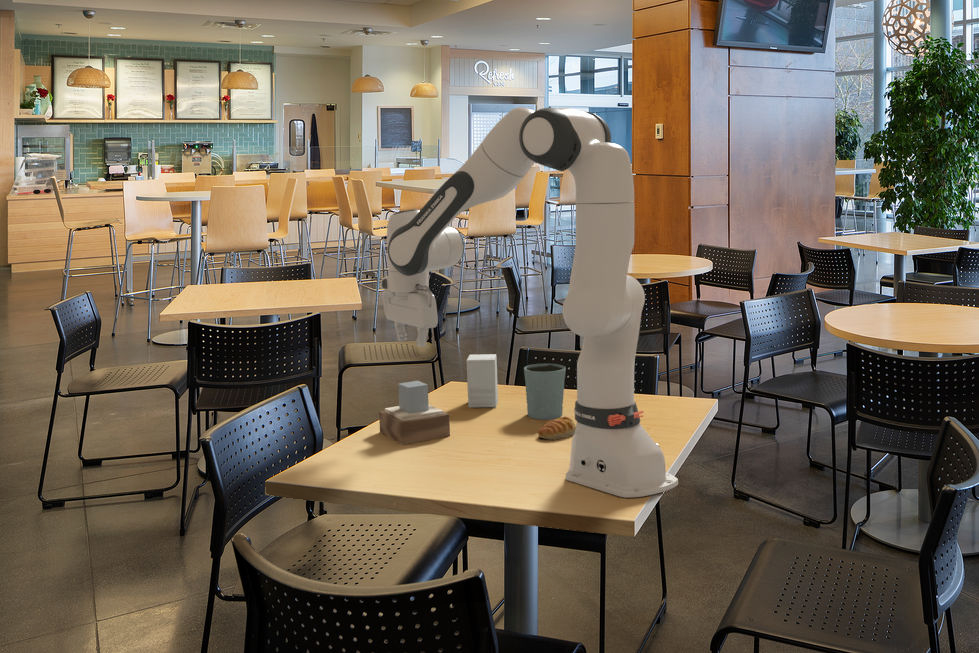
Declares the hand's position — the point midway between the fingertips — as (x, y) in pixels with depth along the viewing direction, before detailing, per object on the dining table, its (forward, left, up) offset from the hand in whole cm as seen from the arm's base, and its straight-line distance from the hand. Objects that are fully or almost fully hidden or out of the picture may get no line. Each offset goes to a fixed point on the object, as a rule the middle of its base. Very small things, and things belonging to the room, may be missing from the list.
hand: (411, 343), depth 202 cm
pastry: (-19, -26, -22) cm, 39 cm away
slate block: (0, 0, -16) cm, 16 cm away
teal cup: (-4, -34, -22) cm, 40 cm away
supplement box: (+14, -27, -22) cm, 37 cm away
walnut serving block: (0, 0, -21) cm, 21 cm away
